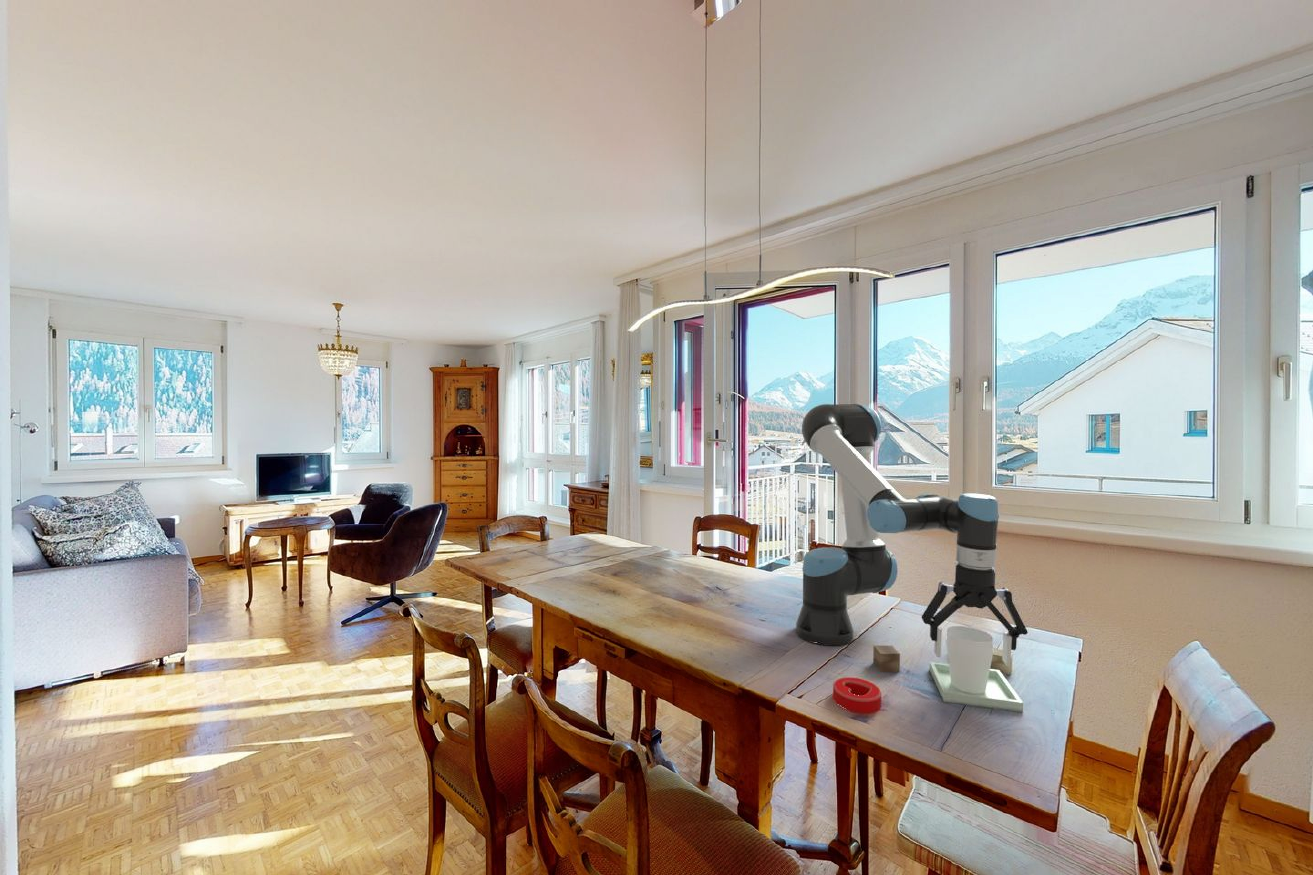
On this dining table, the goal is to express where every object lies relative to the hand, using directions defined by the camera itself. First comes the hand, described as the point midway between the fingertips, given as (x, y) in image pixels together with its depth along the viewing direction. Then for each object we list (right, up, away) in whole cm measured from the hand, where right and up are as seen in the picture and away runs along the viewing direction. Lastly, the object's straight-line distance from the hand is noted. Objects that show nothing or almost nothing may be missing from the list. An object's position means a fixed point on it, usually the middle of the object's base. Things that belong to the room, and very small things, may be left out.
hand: (971, 658), depth 119 cm
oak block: (+12, -6, +10) cm, 17 cm away
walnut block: (-14, -6, +10) cm, 19 cm away
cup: (-1, -6, 0) cm, 6 cm away
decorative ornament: (-27, -8, -5) cm, 29 cm away
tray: (0, -7, 0) cm, 7 cm away
